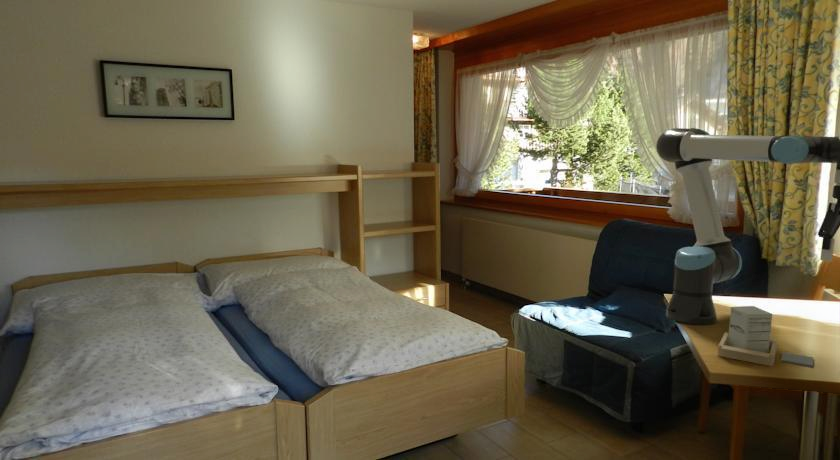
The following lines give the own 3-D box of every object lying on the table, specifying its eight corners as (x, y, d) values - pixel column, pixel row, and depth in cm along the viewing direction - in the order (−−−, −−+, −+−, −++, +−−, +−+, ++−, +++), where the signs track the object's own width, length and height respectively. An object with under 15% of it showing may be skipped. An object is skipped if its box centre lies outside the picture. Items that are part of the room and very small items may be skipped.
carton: (716, 357, 154) (717, 347, 153) (725, 340, 167) (726, 330, 167) (772, 368, 146) (773, 357, 146) (776, 349, 160) (777, 339, 159)
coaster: (780, 361, 151) (781, 359, 151) (782, 353, 157) (782, 351, 157) (812, 367, 147) (813, 365, 147) (813, 359, 153) (813, 357, 153)
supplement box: (726, 349, 160) (729, 306, 158) (751, 348, 161) (754, 305, 159) (743, 359, 153) (747, 314, 151) (769, 358, 153) (773, 313, 152)
